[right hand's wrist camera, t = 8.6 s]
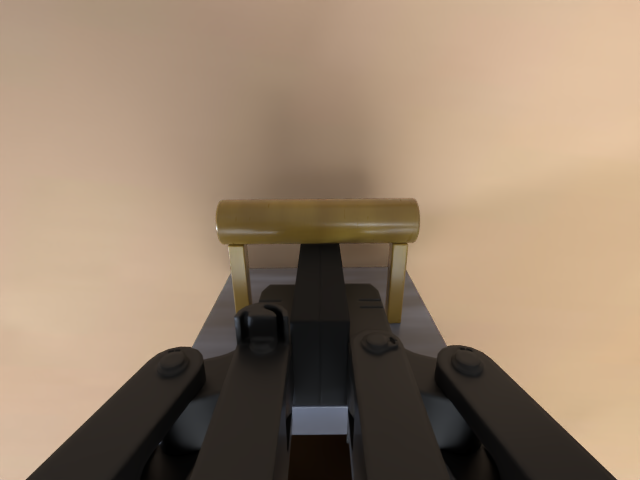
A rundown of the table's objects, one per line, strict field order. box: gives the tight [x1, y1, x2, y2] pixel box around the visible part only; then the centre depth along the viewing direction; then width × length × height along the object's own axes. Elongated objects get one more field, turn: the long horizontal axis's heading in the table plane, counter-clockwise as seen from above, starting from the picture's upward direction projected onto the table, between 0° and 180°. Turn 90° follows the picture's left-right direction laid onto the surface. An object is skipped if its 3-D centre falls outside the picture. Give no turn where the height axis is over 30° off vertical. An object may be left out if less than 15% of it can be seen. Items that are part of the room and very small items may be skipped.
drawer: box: [192, 198, 447, 480], centre depth 17 cm, size 23×10×10 cm, turn 0°
